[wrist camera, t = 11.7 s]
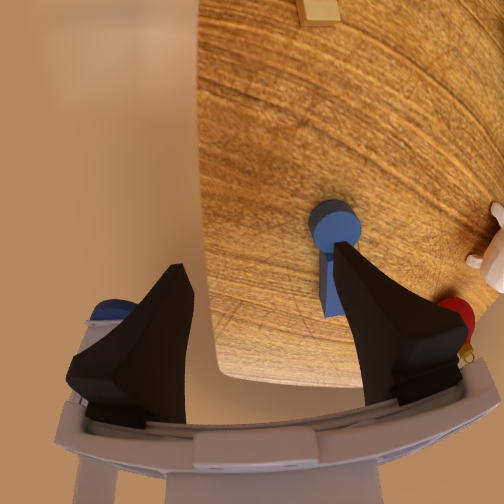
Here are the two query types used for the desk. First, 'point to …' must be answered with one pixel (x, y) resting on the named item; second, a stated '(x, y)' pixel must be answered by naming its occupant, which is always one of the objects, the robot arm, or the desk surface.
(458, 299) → the christmas ornament
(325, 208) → the blue long-handled part
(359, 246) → the desk surface
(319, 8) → the block
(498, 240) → the white animal figurine
